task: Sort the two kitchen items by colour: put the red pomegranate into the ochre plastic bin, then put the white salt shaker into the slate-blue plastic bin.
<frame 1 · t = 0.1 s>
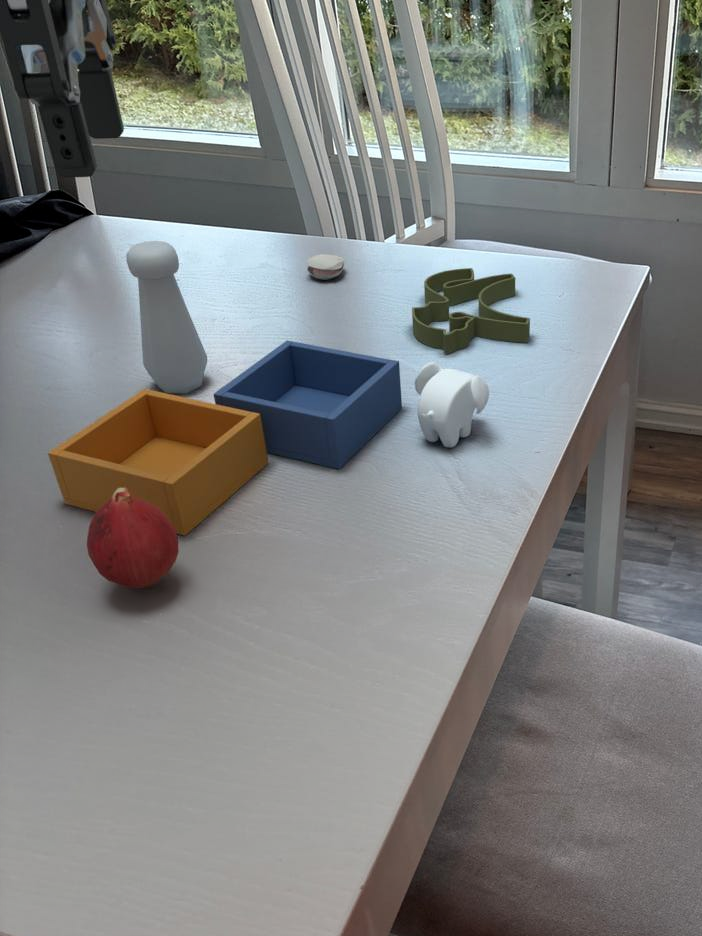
hand: (93, 155, 59), 25 cm above the table, tool pointing down, fingers open, 8 cm apart
blue bin: (315, 425, 85), on the table
ochre bin: (169, 482, 78), on the table
red pomegranate: (146, 588, 68), on the table
macaroon: (329, 277, 113), on the table
cookie cutter: (467, 319, 103), on the table
salt shaker: (181, 386, 92), on the table
elephant figurine: (451, 437, 84), on the table
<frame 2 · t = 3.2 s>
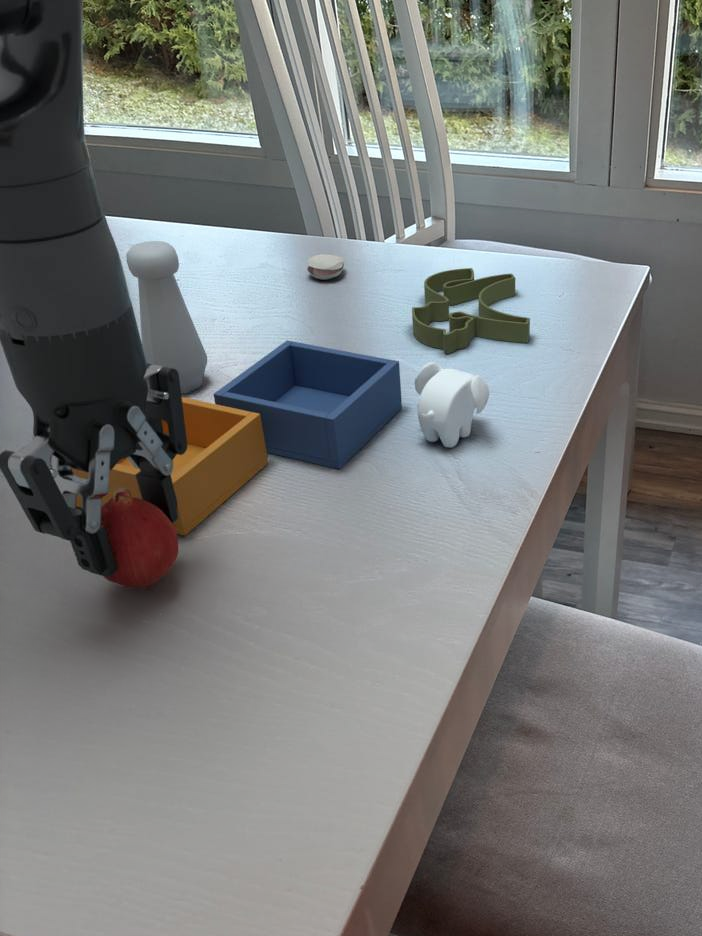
hand: (133, 544, 65), 4 cm above the table, tool pointing down, fingers closed on red pomegranate, 6 cm apart
red pomegranate: (146, 588, 68), on the table, touching gripper
everything else where it was.
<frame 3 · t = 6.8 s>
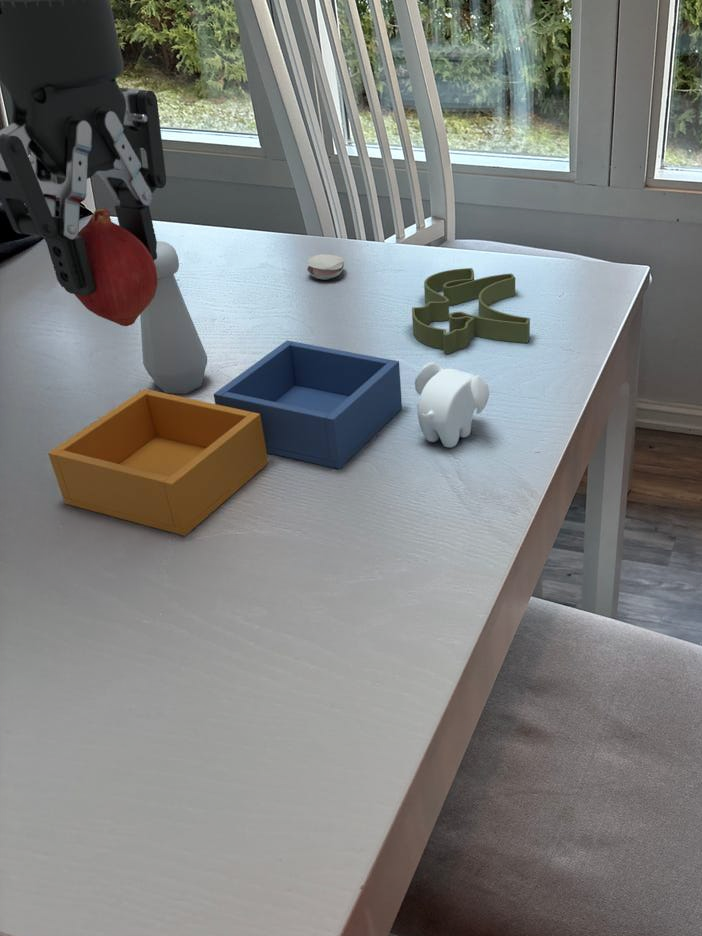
hand: (112, 275, 66), 17 cm above the table, tool pointing down, fingers closed on red pomegranate, 6 cm apart
red pomegranate: (126, 328, 69), point 13 cm above the table, touching gripper
everything else where it was.
when the fingers open (4 cm above the table, at t = 10.3 s): red pomegranate stays where it is, resting on ochre bin.
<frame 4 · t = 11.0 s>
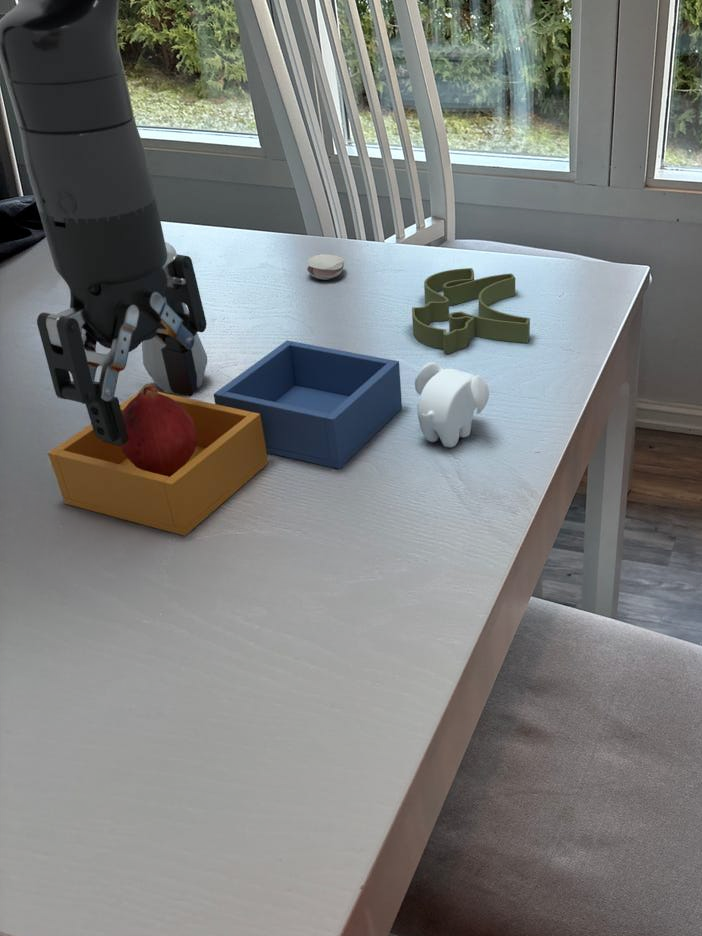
hand: (151, 416, 74), 6 cm above the table, tool pointing down, fingers open, 8 cm apart
red pomegranate: (168, 478, 78), resting on ochre bin
everything else where it was.
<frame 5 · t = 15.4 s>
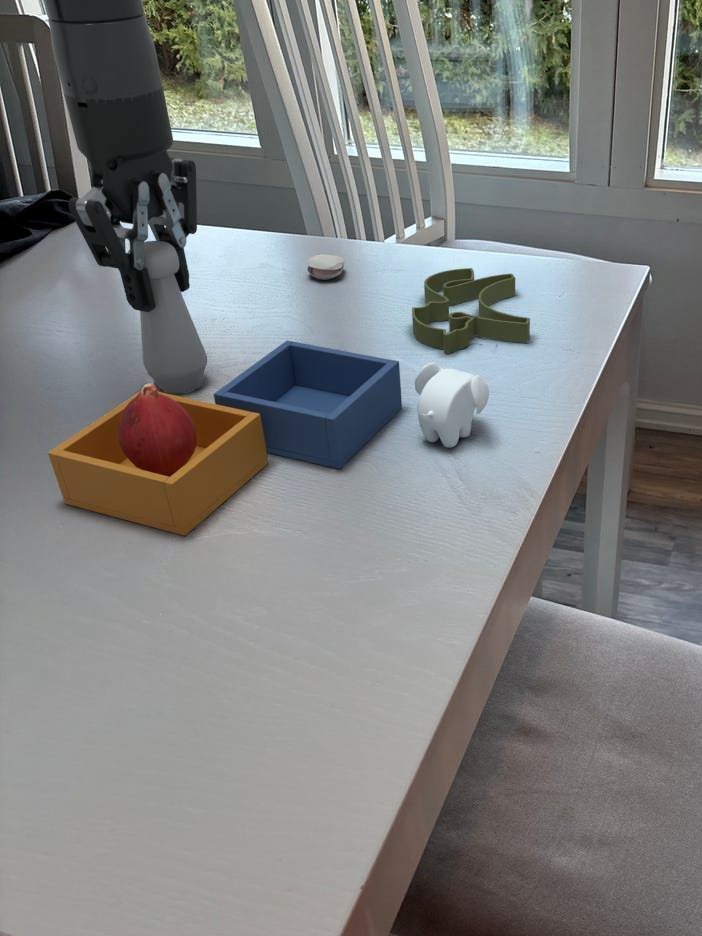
hand: (161, 298, 86), 8 cm above the table, tool pointing down, fingers closed on salt shaker, 4 cm apart
salt shaker: (181, 386, 92), on the table, touching gripper
everything else where it was.
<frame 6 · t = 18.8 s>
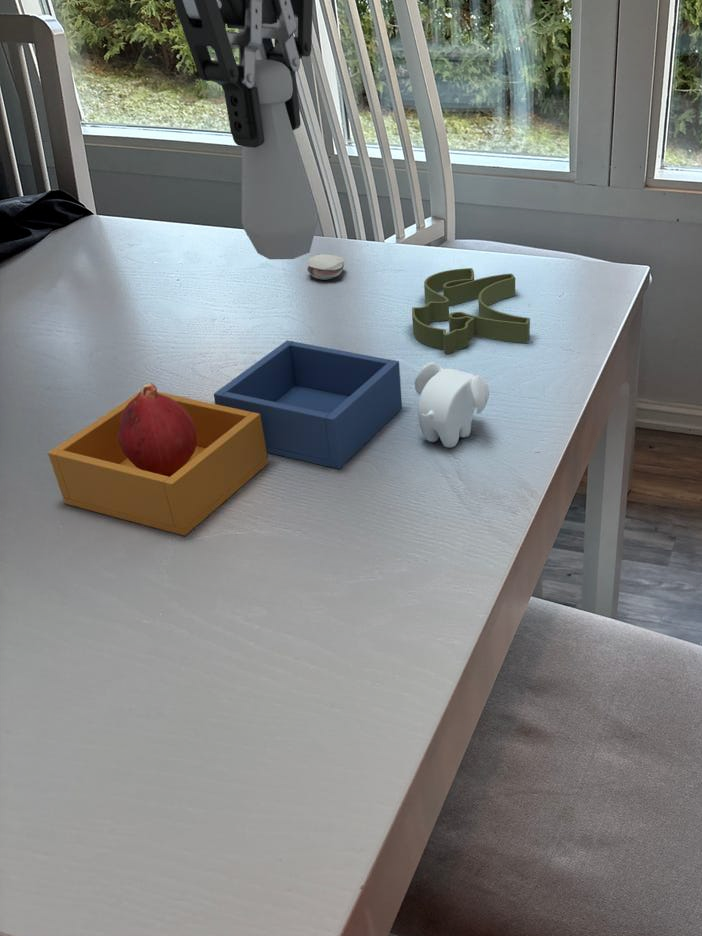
hand: (268, 135, 70), 23 cm above the table, tool pointing down, fingers closed on salt shaker, 4 cm apart
salt shaker: (284, 253, 76), point 15 cm above the table, touching gripper
everything else where it was.
when the fingers open (9 cm above the table, at t = 22.4 s): salt shaker stays where it is, resting on blue bin.
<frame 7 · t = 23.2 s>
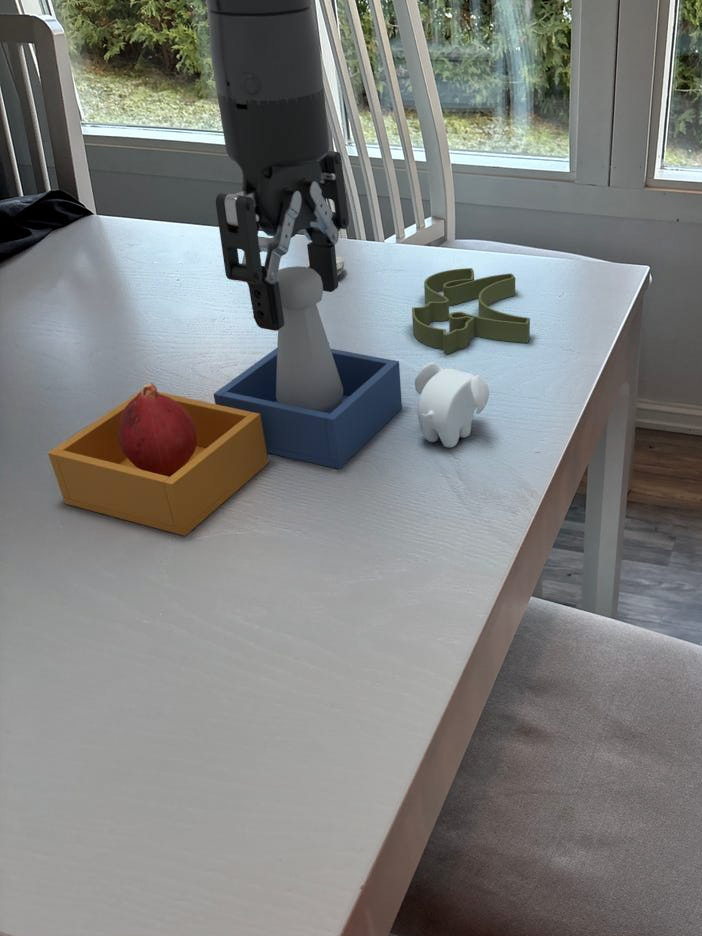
hand: (299, 308, 78), 11 cm above the table, tool pointing down, fingers open, 8 cm apart
salt shaker: (313, 420, 85), resting on blue bin
everything else where it was.
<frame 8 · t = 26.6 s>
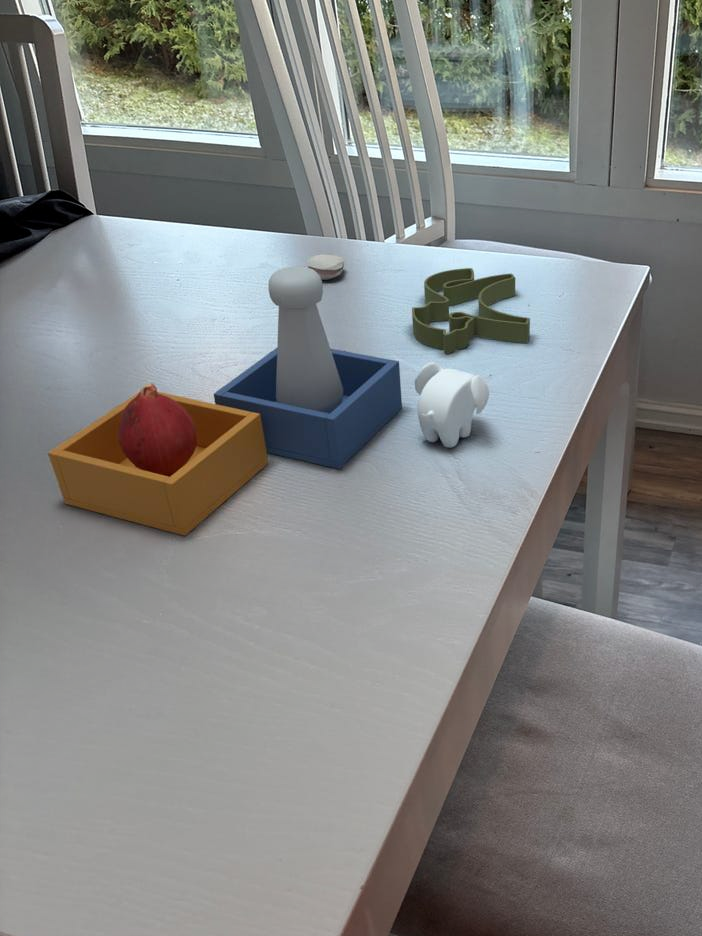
nothing on the table moved.
at the end: red pomegranate inside the target area in the ochre bin (0.1 cm from its centre), point 0.4 cm above the ochre bin's base; salt shaker inside the target area in the blue bin (0.1 cm from its centre), point 0.4 cm above the blue bin's base; salt shaker tilted 0° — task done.
